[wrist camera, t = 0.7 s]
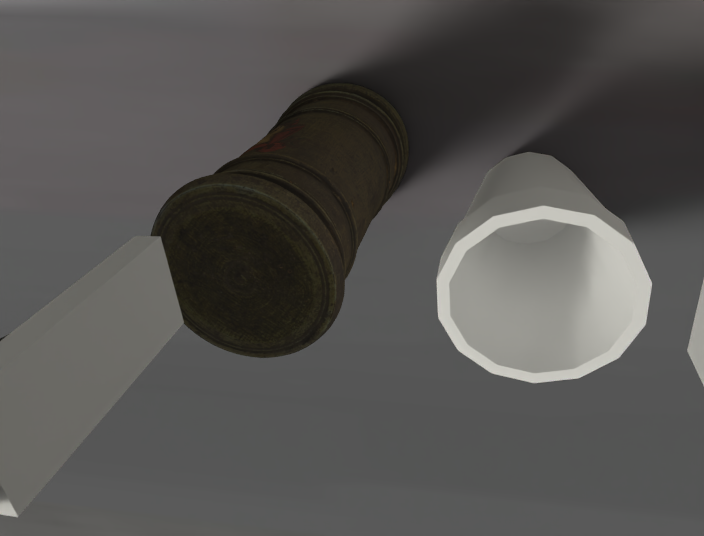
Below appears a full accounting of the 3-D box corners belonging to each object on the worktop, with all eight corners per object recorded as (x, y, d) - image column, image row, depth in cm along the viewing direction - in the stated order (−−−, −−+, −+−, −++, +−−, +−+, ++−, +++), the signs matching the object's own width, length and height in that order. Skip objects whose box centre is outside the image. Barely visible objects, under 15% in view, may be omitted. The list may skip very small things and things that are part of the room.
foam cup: (494, 103, 35) (492, 172, 24) (634, 162, 35) (698, 259, 24) (433, 230, 40) (407, 336, 29) (555, 282, 40) (576, 409, 28)
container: (425, 100, 36) (368, 210, 20) (391, 225, 40) (324, 391, 25) (290, 64, 37) (138, 143, 21) (272, 190, 41) (136, 330, 26)
